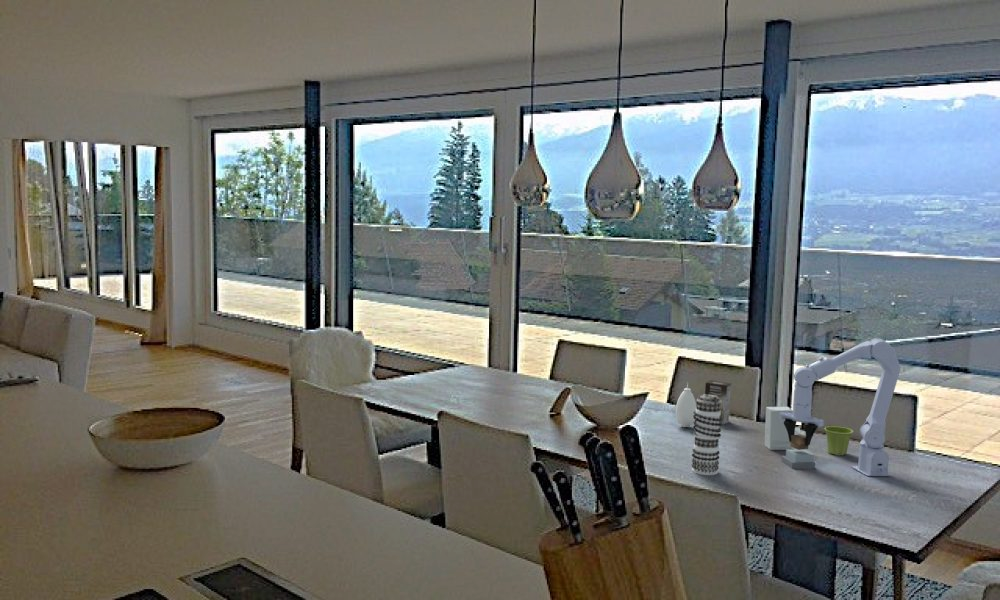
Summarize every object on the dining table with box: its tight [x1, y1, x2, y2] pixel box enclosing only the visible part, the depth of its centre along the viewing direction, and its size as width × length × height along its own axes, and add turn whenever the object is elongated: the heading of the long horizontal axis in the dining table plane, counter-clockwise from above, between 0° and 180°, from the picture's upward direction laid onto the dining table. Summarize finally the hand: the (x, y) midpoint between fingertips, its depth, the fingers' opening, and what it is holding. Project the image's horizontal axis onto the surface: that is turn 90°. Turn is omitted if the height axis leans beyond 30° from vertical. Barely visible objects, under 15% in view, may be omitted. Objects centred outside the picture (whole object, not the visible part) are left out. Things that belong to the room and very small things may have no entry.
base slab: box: [780, 455, 816, 469], centre depth 285 cm, size 8×8×2 cm
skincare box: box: [764, 406, 793, 451], centre depth 304 cm, size 8×6×15 cm
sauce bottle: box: [675, 381, 697, 428], centre depth 330 cm, size 8×8×18 cm
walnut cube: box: [790, 433, 809, 450], centre depth 284 cm, size 4×4×4 cm
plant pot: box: [824, 425, 854, 456], centre depth 300 cm, size 9×9×9 cm
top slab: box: [785, 448, 815, 462], centre depth 284 cm, size 6×6×2 cm
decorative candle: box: [691, 393, 723, 476], centre depth 273 cm, size 9×9×25 cm
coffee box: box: [704, 379, 732, 425], centre depth 341 cm, size 9×6×16 cm
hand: (799, 443), depth 284 cm, fingers closed on walnut cube, 5 cm apart
